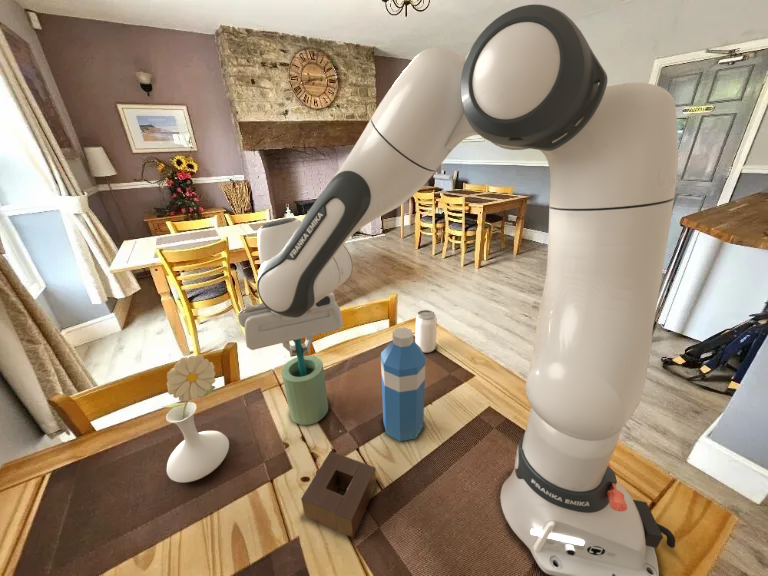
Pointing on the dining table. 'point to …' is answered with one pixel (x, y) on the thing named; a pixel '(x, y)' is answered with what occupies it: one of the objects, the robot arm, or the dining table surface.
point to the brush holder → (333, 506)
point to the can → (426, 330)
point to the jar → (305, 390)
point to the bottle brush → (300, 357)
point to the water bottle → (403, 386)
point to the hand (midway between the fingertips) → (299, 353)
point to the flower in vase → (197, 448)
